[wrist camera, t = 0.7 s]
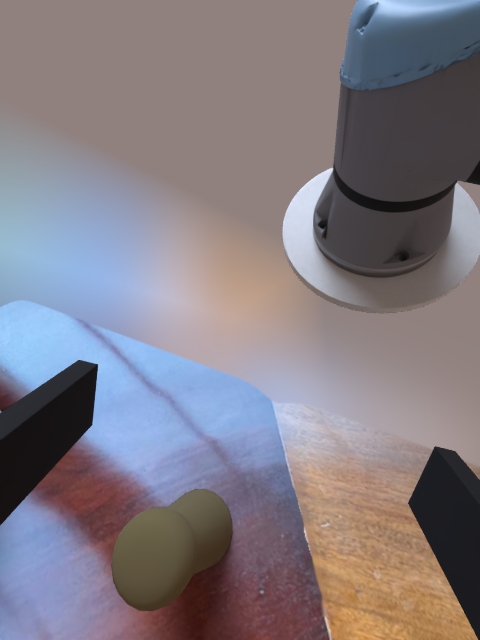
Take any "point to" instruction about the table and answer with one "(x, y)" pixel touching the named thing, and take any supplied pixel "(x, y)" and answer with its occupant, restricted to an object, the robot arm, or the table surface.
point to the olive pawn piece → (169, 548)
